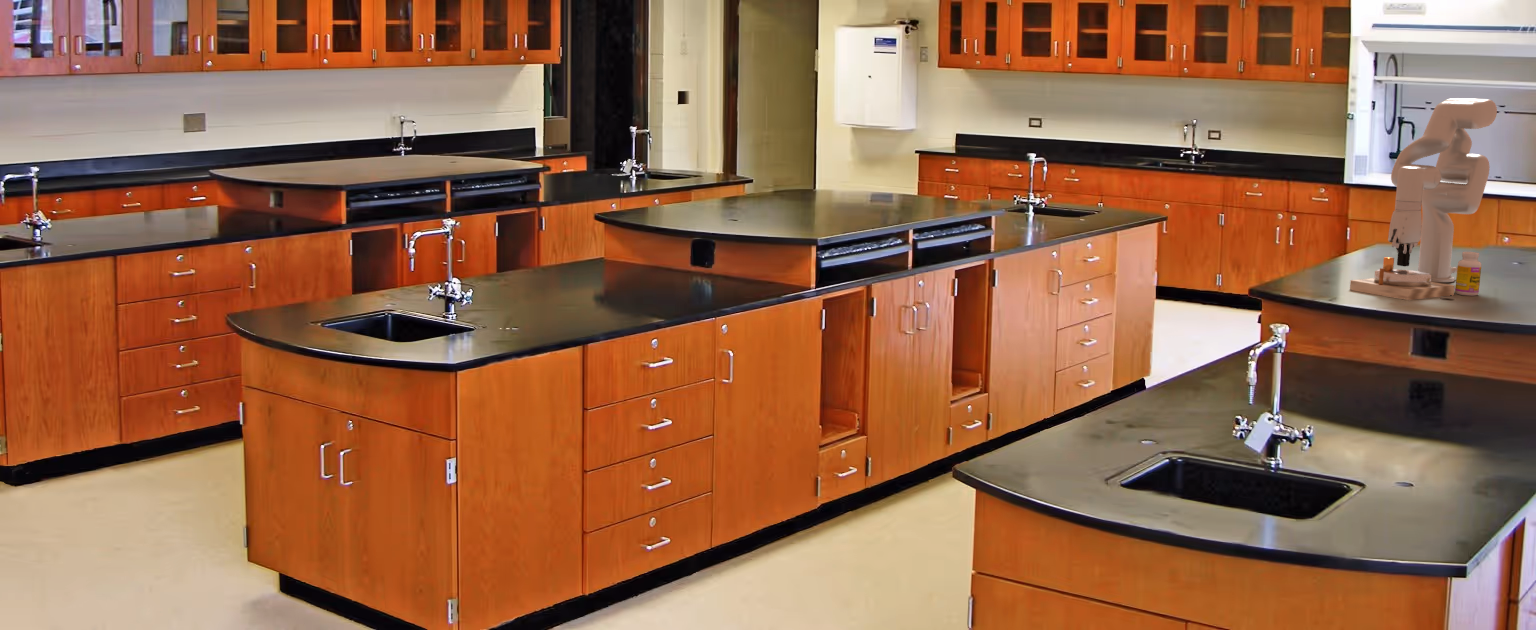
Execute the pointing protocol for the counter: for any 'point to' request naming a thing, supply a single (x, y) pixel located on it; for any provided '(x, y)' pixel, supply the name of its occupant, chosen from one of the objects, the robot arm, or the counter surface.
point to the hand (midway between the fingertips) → (1402, 265)
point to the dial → (1402, 276)
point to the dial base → (1401, 289)
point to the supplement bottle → (1468, 274)
